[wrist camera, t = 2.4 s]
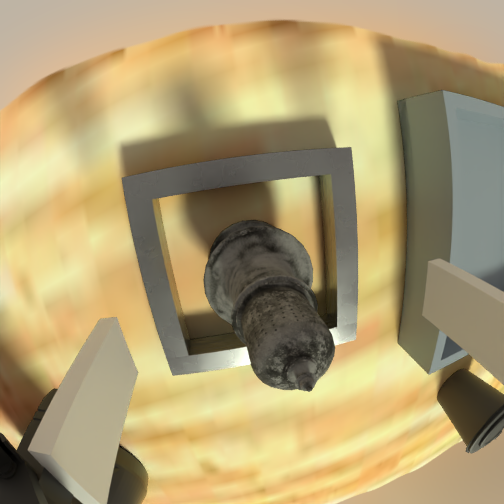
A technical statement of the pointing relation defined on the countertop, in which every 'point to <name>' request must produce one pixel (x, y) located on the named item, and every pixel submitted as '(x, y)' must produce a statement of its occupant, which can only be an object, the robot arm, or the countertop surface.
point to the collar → (229, 174)
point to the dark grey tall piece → (270, 303)
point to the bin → (449, 206)
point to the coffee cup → (473, 408)
